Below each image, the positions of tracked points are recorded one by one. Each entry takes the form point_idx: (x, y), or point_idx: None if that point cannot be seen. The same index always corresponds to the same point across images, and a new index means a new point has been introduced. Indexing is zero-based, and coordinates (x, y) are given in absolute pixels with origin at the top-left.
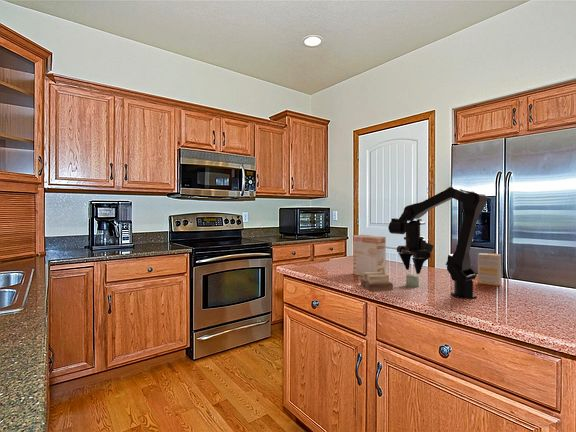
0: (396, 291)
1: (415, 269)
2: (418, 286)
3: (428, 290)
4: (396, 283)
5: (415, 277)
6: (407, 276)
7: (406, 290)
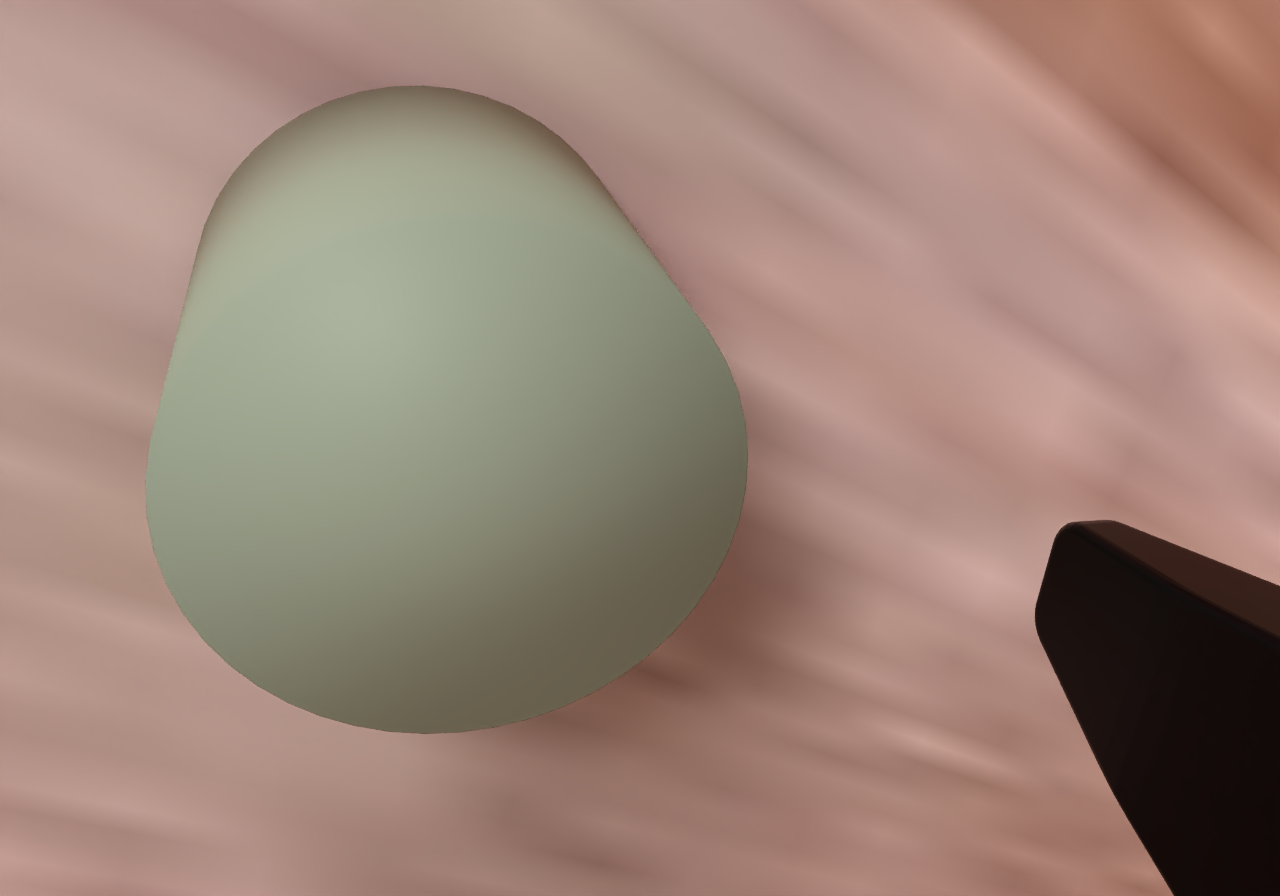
0: (875, 885)
1: (1163, 849)
2: (574, 152)
3: (1094, 92)
4: (3, 670)
5: (736, 466)
6: (508, 707)
7: (874, 673)
